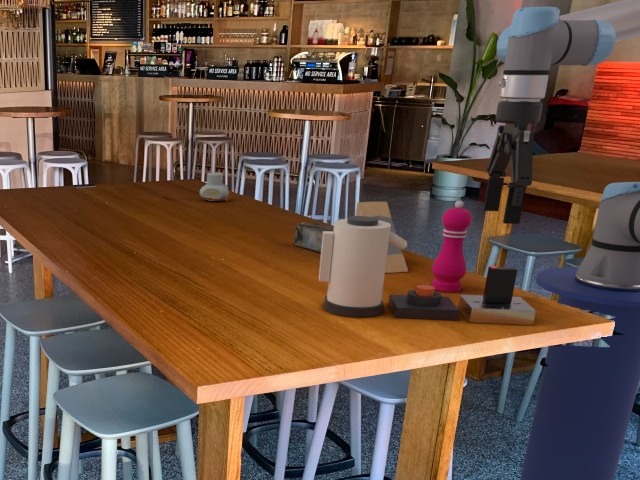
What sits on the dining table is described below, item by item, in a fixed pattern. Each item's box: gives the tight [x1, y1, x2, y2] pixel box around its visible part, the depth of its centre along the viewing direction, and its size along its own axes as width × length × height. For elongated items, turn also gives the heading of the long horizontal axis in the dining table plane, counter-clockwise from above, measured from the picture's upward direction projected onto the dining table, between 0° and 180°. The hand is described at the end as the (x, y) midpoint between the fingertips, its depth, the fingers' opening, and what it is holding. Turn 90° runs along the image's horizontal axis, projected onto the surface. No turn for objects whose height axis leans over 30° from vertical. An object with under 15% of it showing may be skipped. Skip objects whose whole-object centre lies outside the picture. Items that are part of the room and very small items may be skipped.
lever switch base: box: [457, 294, 537, 326], centre depth 161 cm, size 12×10×3 cm
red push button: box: [415, 284, 436, 296], centre depth 163 cm, size 4×4×2 cm
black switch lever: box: [482, 265, 518, 304], centre depth 159 cm, size 5×2×7 cm, turn 81°
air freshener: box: [199, 172, 230, 202], centre depth 297 cm, size 11×8×10 cm
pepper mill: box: [431, 200, 473, 293], centre depth 178 cm, size 7×7×20 cm
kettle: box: [318, 215, 408, 319], centre depth 163 cm, size 17×12×19 cm
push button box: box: [388, 289, 460, 321], centre depth 164 cm, size 12×10×4 cm
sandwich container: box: [355, 201, 409, 274], centre depth 200 cm, size 9×15×15 cm, turn 11°
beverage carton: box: [293, 221, 334, 253], centre depth 217 cm, size 8×19×7 cm, turn 28°
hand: (500, 217), depth 153 cm, fingers open, 13 cm apart
